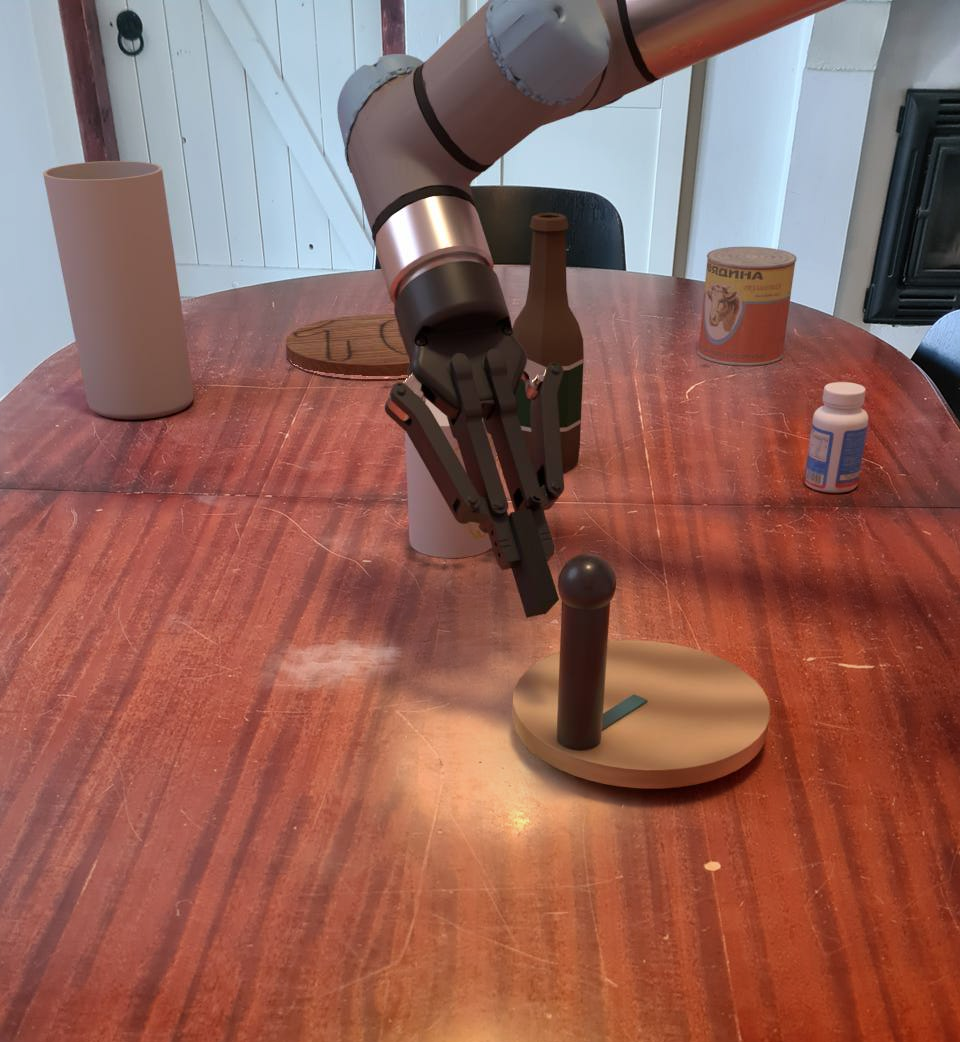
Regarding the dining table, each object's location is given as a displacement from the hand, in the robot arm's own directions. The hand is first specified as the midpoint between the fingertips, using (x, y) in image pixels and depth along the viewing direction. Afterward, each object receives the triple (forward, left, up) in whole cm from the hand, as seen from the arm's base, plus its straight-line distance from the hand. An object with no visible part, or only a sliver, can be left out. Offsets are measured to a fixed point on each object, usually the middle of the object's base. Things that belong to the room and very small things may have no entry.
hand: (542, 608), depth 83 cm
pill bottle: (-19, -54, -10) cm, 58 cm away
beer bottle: (+11, -53, -10) cm, 55 cm away
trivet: (+41, -89, -10) cm, 99 cm away
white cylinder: (+15, -31, -10) cm, 36 cm away
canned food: (-6, -100, -10) cm, 101 cm away
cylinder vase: (+62, -61, -10) cm, 88 cm away
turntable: (-7, -1, -8) cm, 11 cm away
